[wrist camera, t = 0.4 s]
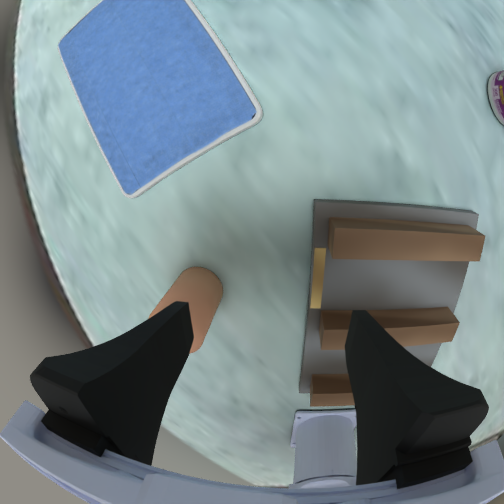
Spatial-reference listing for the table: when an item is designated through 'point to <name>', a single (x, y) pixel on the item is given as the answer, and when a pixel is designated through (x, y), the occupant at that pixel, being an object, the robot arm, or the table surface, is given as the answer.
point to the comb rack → (382, 283)
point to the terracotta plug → (195, 299)
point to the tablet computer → (154, 87)
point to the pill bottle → (497, 94)
